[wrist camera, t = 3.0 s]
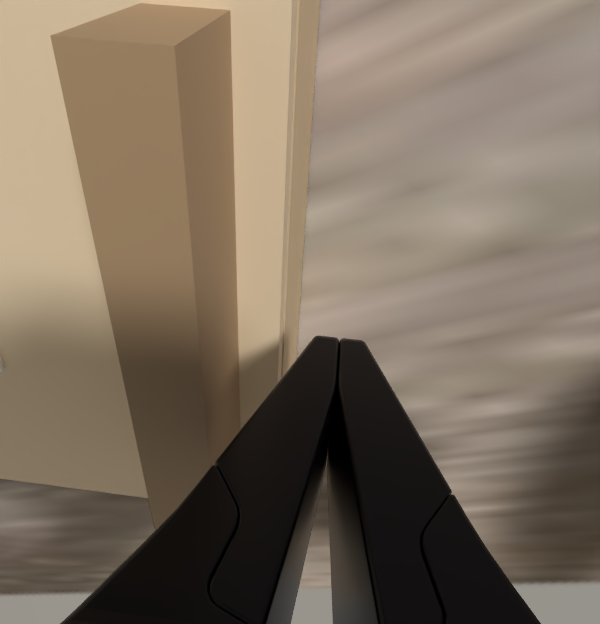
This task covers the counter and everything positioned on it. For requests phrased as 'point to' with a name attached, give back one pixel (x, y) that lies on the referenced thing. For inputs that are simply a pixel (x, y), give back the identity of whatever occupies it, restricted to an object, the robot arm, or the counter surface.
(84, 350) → the lid
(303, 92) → the box
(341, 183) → the counter surface
